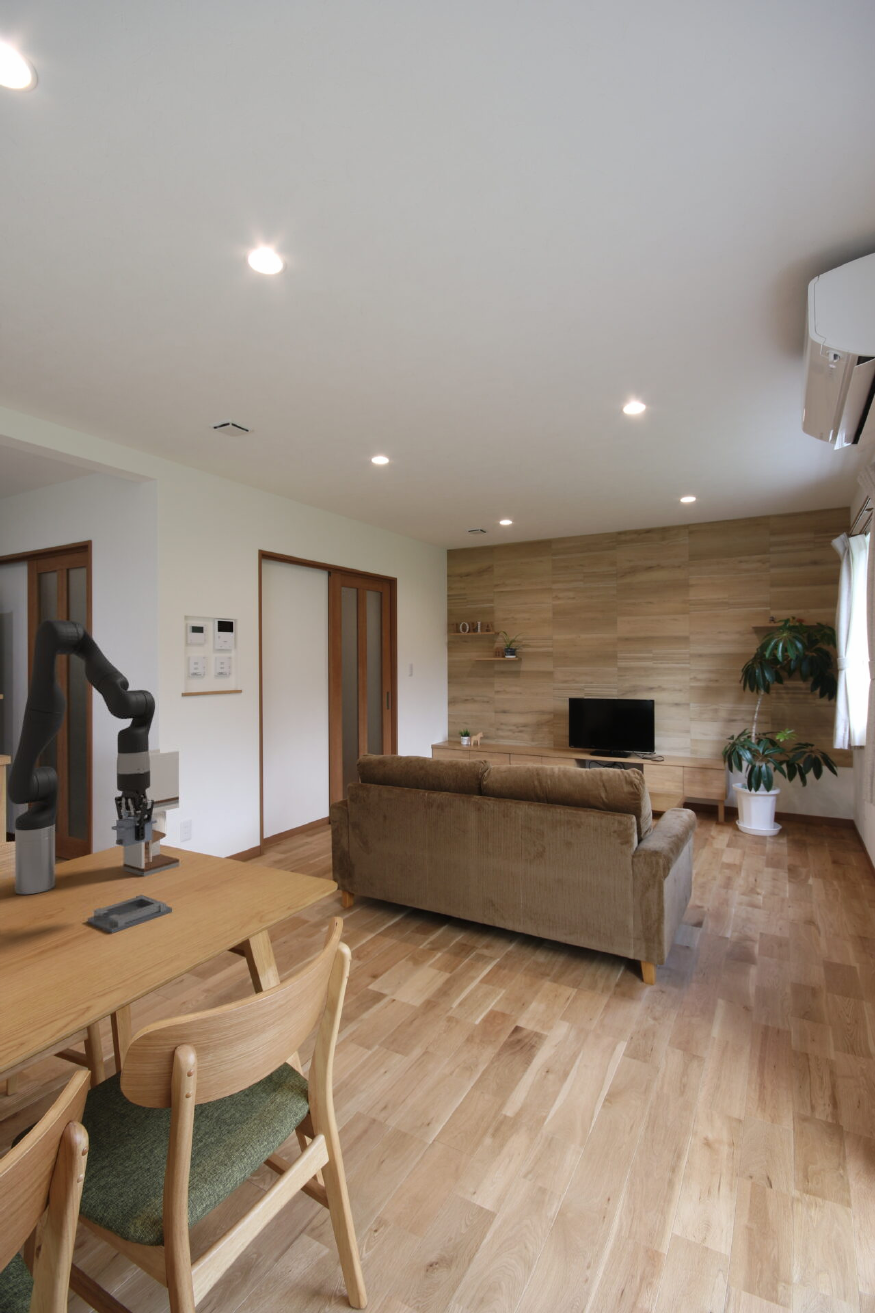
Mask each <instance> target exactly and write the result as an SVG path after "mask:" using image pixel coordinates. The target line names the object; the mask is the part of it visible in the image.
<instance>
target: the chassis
mask: <svg viewBox="0 0 875 1313" xmlns="http://www.w3.org/2000/svg"><path fill="white" fill-rule="evenodd" d="M172 912H173V907H171V906H168V905H167V903H165V902H163V901H159V900H158V899H154V898H152V897H150V896H146V895H144V894H139V895H137V896H135V897H133V898H132V897H131V898H130V899H127V900H126V899H125V900H123V901H121V902H117V903H114V904H110V905H107V906H105V907H98V908H96V909H94V910H93V916H91V917H88V918H87V924H89V925H92V926H94V927H96V928H99V929H101V930H104V931H105V932H107V933H110V934H114V933H117V932H120V931H123V930H125V929H128V928H131V927H133V926H136V925H139V924H142V923H145V922H148V921H150V920H154V919H156V918H159V917H162V916H165V915H167V914H168V915H169V914H170V913H172Z"/></svg>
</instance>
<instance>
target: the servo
mask: <svg viewBox="0 0 875 1313" xmlns="http://www.w3.org/2000/svg"><path fill="white" fill-rule="evenodd" d="M138 818H140V815H139V816H138ZM146 818H147V815H146ZM154 823H157V820H152V817H151V822H148V823H146V824H145V839H144V840H140V841H136V840H135V826H136V825H135V822H134V817H128V818H124V819H116V825H113V826H111V830H112V831H116V840H115V844H116V845H117V846H121V847H123V846H125V847H126V846H130V845H134V844H138V843H142V842H146V841H150V840H153V834H152V824H154Z"/></svg>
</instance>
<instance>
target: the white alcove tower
mask: <svg viewBox="0 0 875 1313" xmlns="http://www.w3.org/2000/svg"><path fill="white" fill-rule="evenodd" d="M149 757H150V787H149V788H147V789H146V795H147V799H149V800H154V807H153V812H152V820H157V823H154V824H152V834H153V840H150V841H146V842H142V843H138V844H134V845H130V846H126V847H125V846H122V847H123V850H122V851H123V853H122V855H123V864H122V865H123V871H125V872H127V873H131V874H135V875H138V876H142V877H147V876H150V875H153V874H156V873H157V874H158V873H161V872H164V871H166V870H169V869H172V868H176V867H180V858H176V857H173V856H169V855H165V854H161V840H162V839H164V838H165V837H167V811H169V810H174V809H178V808H180V751H179V750H175V751H168V752H161V749H160V748H156V749H149ZM138 812H141V811H137V813H138Z"/></svg>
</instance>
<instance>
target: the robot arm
mask: <svg viewBox="0 0 875 1313" xmlns="http://www.w3.org/2000/svg"><path fill="white" fill-rule="evenodd" d="M34 638H35V639H34V647H33V656H32V657H33V658H32V670H31V679H30V684H29V690H28V695H27V697H26V698H27V699H26V703H25V709H24V715H23V721H22V727H21V732H20V737H19V741H18V746H17V751H16V754H15V757H14V760H13V763H12V766H11V769H10V774H9V777H8V781H7V782H8V783H7V794H8V798H9V801H10V802H12V804H15V805H25V804H31V803H32V806H31V807H30V808H29V809H28V810H26V811H25V812H23V813H22V814H20V815H18V816H17V817H16V819H15V822H14V828H15V830H14V835H15V836H14V848H15V849H14V858H15V859H14V860H15V861H14V866H15V868H14V870H15V871H14V873H15V874H14V892H15V894H18V895H32V894H33V895H34V894H37V893H38V894H39V893H43V892H46V891H49V890H51V889H53V888H54V887H55V886H56V884H55V883H56V879H55V878H56V874H55V873H56V831H55V830H56V816H57V813H58V804H59V803H58V802H59V801H58V799H59V787H60V786H59V785H60V784H59V778H58V777H59V776H58V774H57V772H56V770H55V769H54V767H52V766H46V765H45V766H40V767H39V766H38V767H36V766H37V763H38V760H39V758H40V756H41V754H42V753H43V752H44V750H45V749H46V748H47V746H48V745H49V744H50V743H51V741H52V740H53V739H54V738H55V737H56V735H57V734H58V733H59V732H60V731H61V728H62V726H63V724H64V719H65V715H66V713H65V712H66V707H67V700H66V696H65V694H64V692H63V690H62V688H61V686H60V683H59V681H58V679H57V677H56V676H57V675H56V670H55V669H56V660H57V655H59V656H60V655H61V656H63V655H64V656H65V655H68V656H70V655H74V656H76V657H78V659H81V661H83V662H84V673H85V677H86V679H87V682H88V683H89V684H90V685H91V687H93V688H94V689H95V690H96V691H97V692H98V694H100V695H101V697H102V699H103V701H104V703H105V705H106V708H107V710H108V711H109V713H110V715H112V716H113V717H115V718H116V719H120V720H129V719H131V722H130V724H129V726H127V727H125V728H123V729H121V730H119V731H118V732H117V740H116V742H117V755H116V756H117V758H116V790H117V791H119V792H121V795H120V796H115V797H114V803H115V809H116V812H117V820H119V819H124V818H128V817H134V822H135V825H136V826H135V840H136V841H140V840H144V839H145V824H146V823H148V822H151V817H152V812H153V807H154V800H149V799H147V795H146V789H147V788H149V787H150V757H149V750H150V749H149V744H150V742H149V741H150V740H149V735H150V730H151V726H152V722H153V719H154V716H155V710H156V702H155V698H154V696H153V694H152V693H151V692H150V691H148V690H146V689H137V690H136V689H135V690H134V689H133V690H129V688H130V684H129V680H128V678H127V677H126V676H125V675H124V674H123V673H122V672H121V671H119V670H118V668H117V667H115V666H114V665H113V663H112V662H110V661H109V659H108V658H107V657H106V656H105V655H104V653H103V651H102V650H101V648H100V647H99V645H98V644H97V642H96V641H95V640H94V638H93V637H92V635H91V634H90V633H89V631H88V630H87V628H86V627H85V626H84V625H83V624H82V623H80V622H78V621H75V620H66V619H65V620H64V619H63V620H62V619H44V620H43V621H41V622H40V624H38V627H37V629H36V632H35V637H34ZM137 811H141V812H138V813H137ZM139 815H140V818H138V816H139ZM146 815H147V818H146Z"/></svg>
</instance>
